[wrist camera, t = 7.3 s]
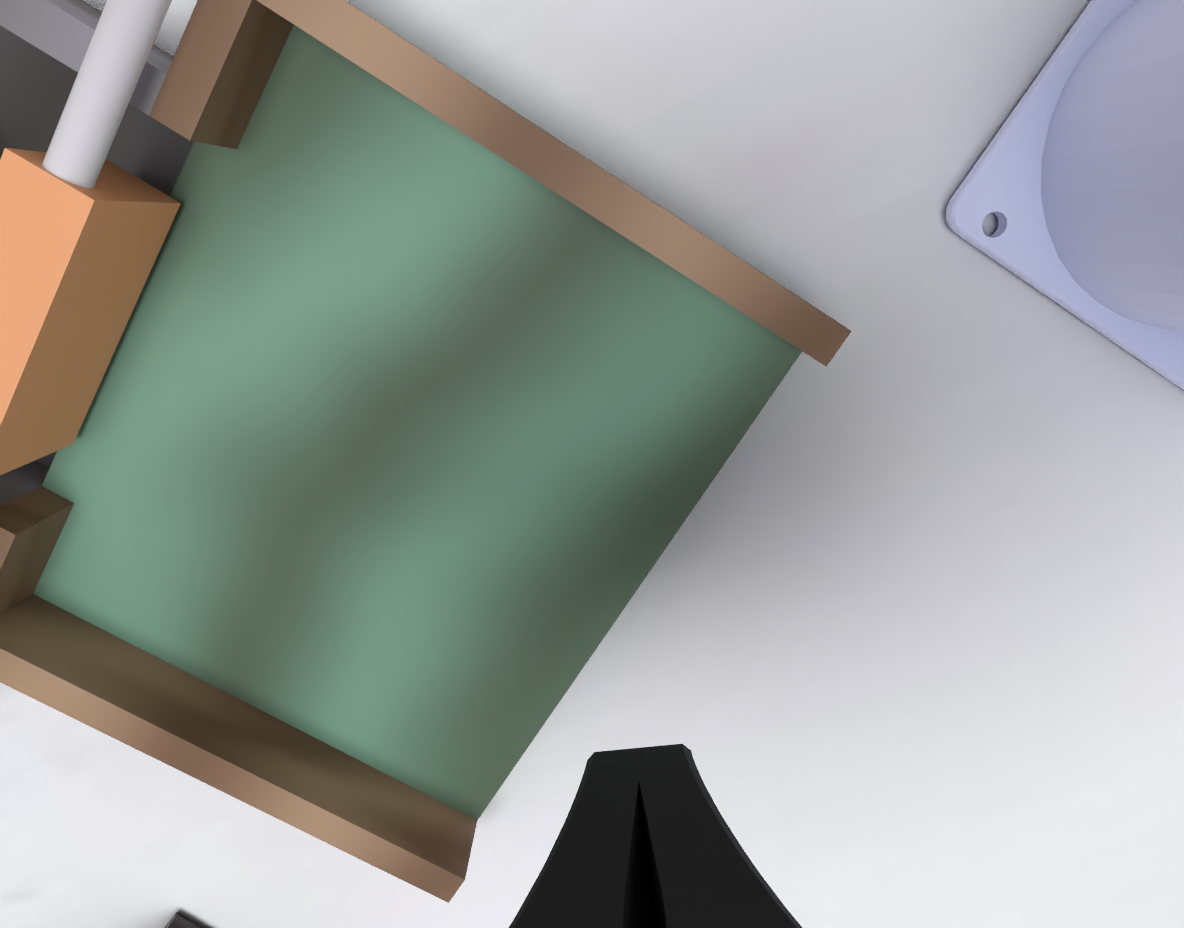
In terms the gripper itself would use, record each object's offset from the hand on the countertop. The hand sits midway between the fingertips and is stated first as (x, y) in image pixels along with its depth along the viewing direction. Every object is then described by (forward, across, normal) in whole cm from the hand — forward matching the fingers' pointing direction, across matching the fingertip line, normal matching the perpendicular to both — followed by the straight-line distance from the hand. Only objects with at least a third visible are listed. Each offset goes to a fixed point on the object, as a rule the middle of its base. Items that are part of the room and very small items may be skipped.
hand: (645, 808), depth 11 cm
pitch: (+9, +9, -6) cm, 14 cm away
